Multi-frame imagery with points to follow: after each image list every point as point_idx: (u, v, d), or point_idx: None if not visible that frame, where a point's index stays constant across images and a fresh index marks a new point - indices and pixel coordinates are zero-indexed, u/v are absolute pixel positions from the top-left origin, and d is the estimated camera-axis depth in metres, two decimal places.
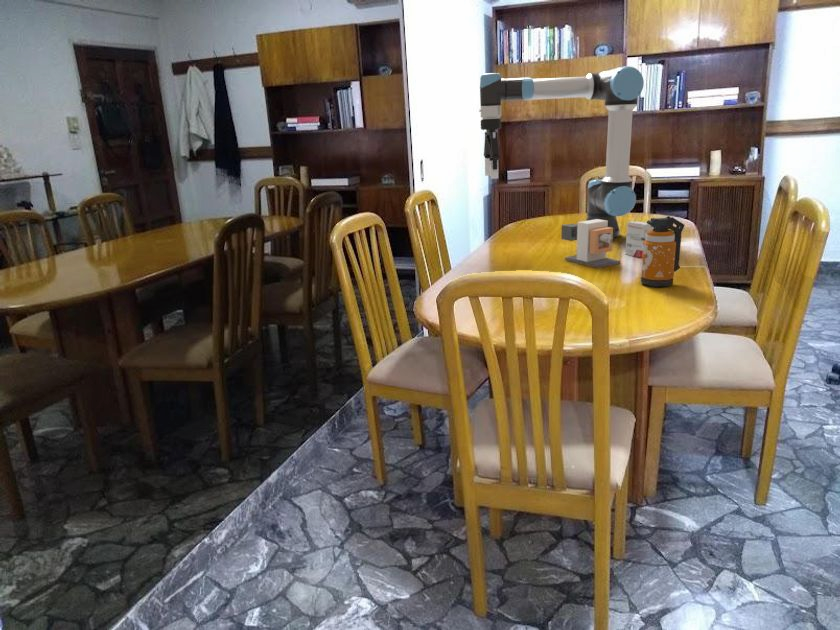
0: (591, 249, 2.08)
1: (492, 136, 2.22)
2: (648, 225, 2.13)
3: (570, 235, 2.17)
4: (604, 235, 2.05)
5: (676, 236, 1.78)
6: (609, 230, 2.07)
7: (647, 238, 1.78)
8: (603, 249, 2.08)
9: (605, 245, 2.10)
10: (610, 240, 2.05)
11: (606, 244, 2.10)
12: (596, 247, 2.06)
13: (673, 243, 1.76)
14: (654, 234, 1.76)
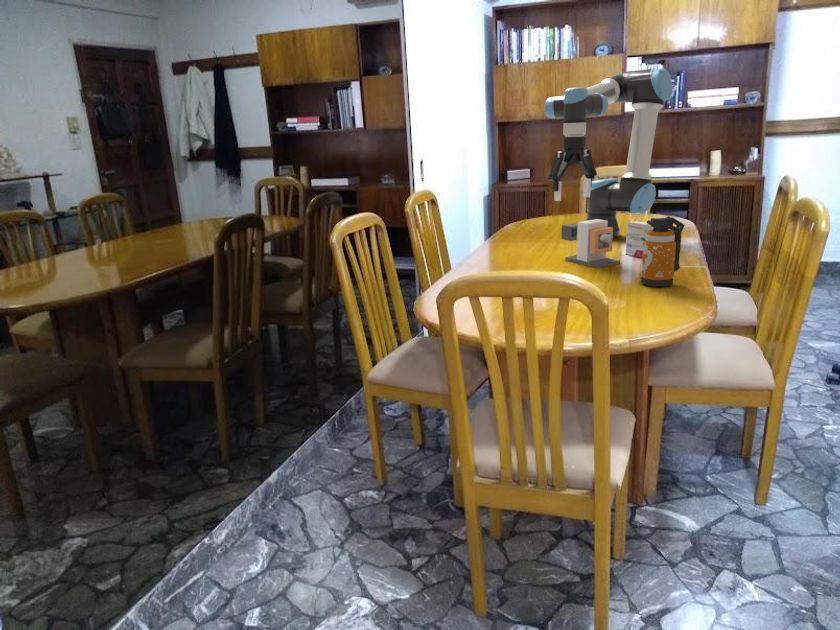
0: (591, 249, 2.08)
1: (557, 156, 2.09)
2: (648, 225, 2.13)
3: (570, 235, 2.17)
4: (604, 235, 2.05)
5: (676, 236, 1.78)
6: (609, 230, 2.07)
7: (647, 238, 1.78)
8: (603, 249, 2.08)
9: (605, 245, 2.10)
10: (610, 240, 2.05)
11: (606, 244, 2.10)
12: (596, 247, 2.06)
13: (673, 243, 1.76)
14: (654, 234, 1.76)
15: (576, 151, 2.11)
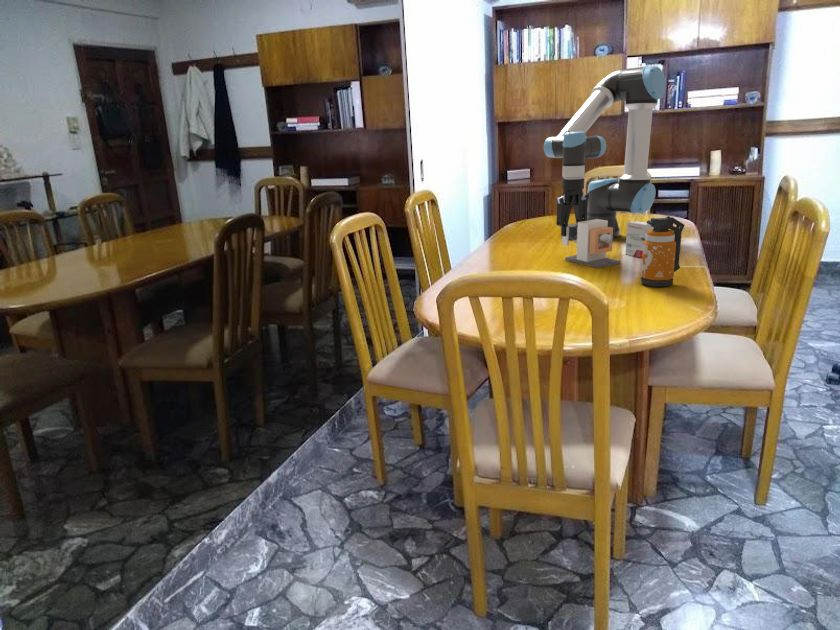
0: (590, 249, 2.08)
1: (557, 202, 2.14)
2: (648, 225, 2.13)
3: (570, 235, 2.17)
4: (604, 235, 2.05)
5: (676, 236, 1.78)
6: (609, 230, 2.07)
7: (647, 238, 1.78)
8: (603, 249, 2.08)
9: (605, 245, 2.10)
10: (610, 240, 2.05)
11: (606, 244, 2.10)
12: (596, 247, 2.06)
13: (673, 243, 1.76)
14: (654, 234, 1.76)
15: (575, 193, 2.15)
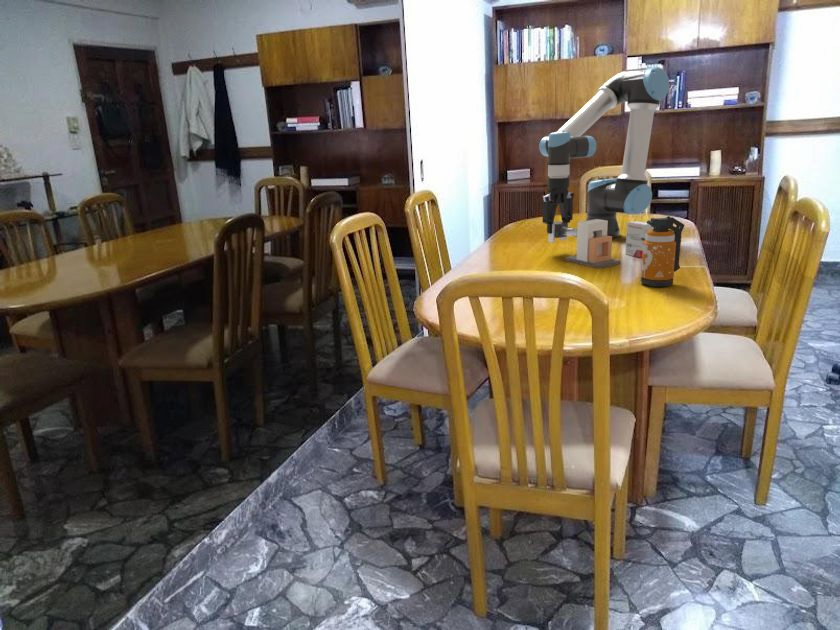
0: (590, 258, 2.09)
1: (543, 200, 2.20)
2: (648, 225, 2.13)
3: (556, 233, 2.23)
4: None
5: (676, 236, 1.78)
6: (608, 238, 2.08)
7: (647, 238, 1.78)
8: (602, 258, 2.09)
9: (604, 254, 2.11)
10: (594, 237, 2.11)
11: (605, 253, 2.11)
12: (595, 256, 2.07)
13: (673, 243, 1.76)
14: (654, 234, 1.76)
15: (560, 191, 2.21)
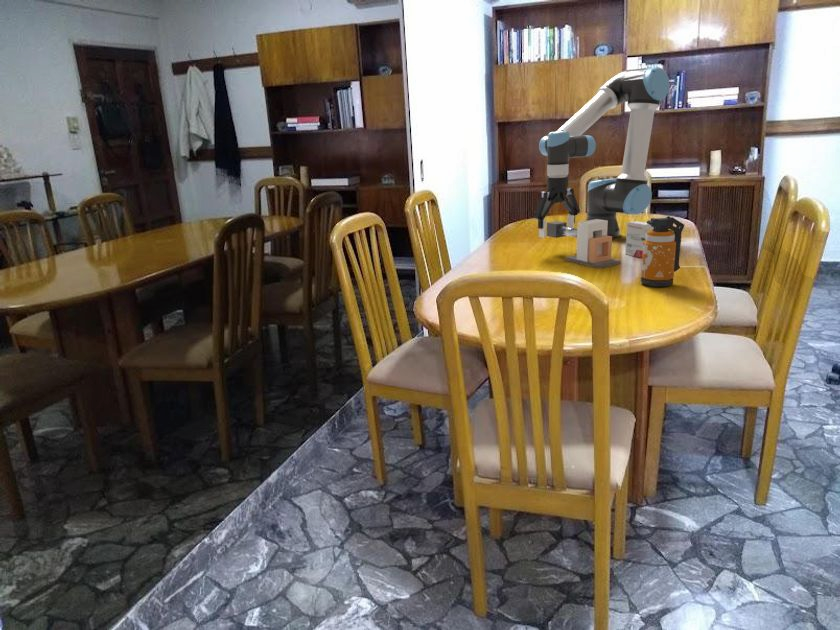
0: (590, 258, 2.09)
1: (541, 195, 2.20)
2: (648, 225, 2.13)
3: (555, 232, 2.24)
4: None
5: (676, 236, 1.78)
6: (608, 238, 2.08)
7: (647, 238, 1.78)
8: (602, 258, 2.09)
9: (604, 254, 2.11)
10: (593, 237, 2.12)
11: (605, 253, 2.11)
12: (595, 256, 2.07)
13: (673, 243, 1.76)
14: (654, 234, 1.76)
15: (559, 190, 2.21)
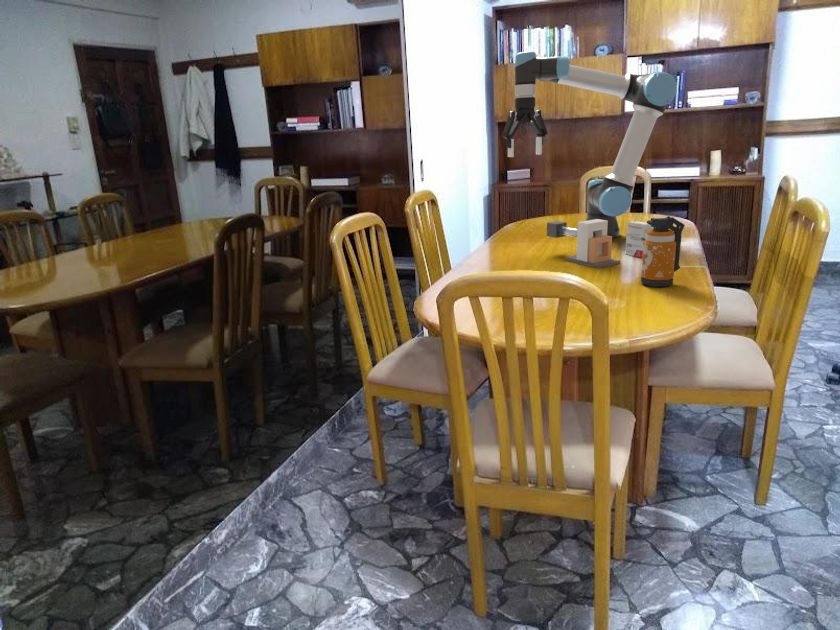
0: (590, 258, 2.09)
1: (509, 115, 2.28)
2: (648, 225, 2.13)
3: (555, 232, 2.24)
4: None
5: (676, 236, 1.78)
6: (608, 238, 2.08)
7: (647, 238, 1.78)
8: (602, 258, 2.09)
9: (604, 254, 2.11)
10: (593, 237, 2.12)
11: (605, 253, 2.11)
12: (595, 256, 2.07)
13: (673, 243, 1.76)
14: (654, 234, 1.76)
15: (527, 111, 2.30)
